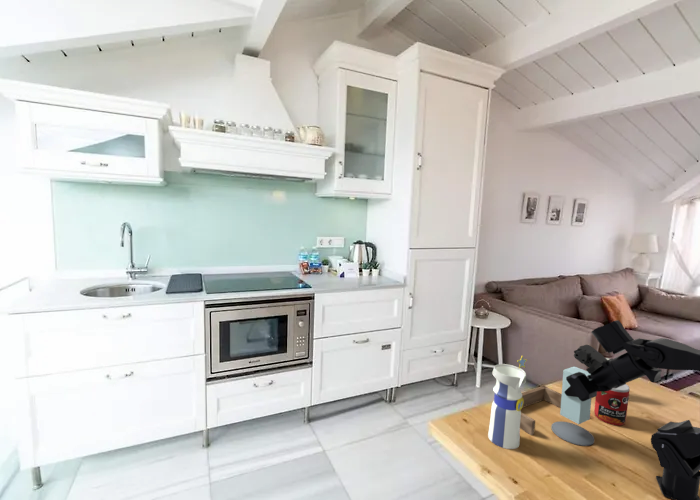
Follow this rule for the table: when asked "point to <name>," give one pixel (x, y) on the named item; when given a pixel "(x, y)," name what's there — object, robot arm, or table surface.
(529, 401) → the u-shaped wooden frame
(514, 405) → the blue striped jug
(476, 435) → the table surface
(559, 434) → the coaster
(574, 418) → the block
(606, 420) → the canned food
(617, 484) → the table surface
